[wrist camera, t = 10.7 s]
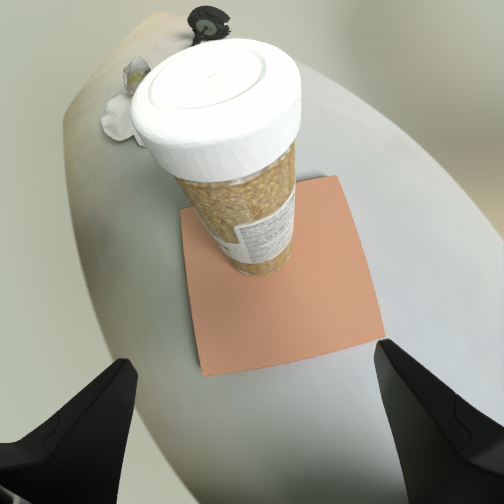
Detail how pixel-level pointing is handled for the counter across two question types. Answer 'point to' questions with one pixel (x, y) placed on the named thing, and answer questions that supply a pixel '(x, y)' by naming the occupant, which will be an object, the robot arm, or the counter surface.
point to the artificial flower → (118, 108)
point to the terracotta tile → (283, 290)
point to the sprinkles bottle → (229, 142)
